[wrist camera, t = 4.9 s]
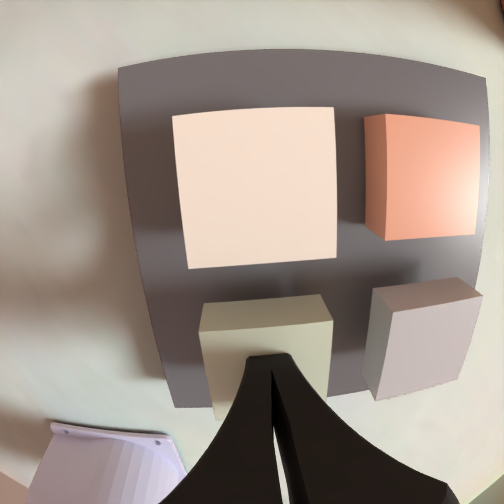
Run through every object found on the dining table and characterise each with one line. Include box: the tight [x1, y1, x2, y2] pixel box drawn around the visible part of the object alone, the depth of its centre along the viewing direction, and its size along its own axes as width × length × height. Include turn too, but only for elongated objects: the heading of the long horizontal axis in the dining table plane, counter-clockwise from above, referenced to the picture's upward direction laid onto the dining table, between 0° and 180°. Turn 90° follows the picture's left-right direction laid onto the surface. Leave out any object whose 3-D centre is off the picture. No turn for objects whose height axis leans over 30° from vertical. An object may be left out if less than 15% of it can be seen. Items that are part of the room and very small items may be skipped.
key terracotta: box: [364, 114, 480, 241], centre depth 10 cm, size 4×4×2 cm
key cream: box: [172, 107, 337, 269], centre depth 9 cm, size 4×4×2 cm
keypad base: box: [118, 49, 490, 408], centre depth 13 cm, size 15×15×2 cm
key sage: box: [198, 294, 333, 420], centre depth 11 cm, size 4×4×2 cm
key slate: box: [362, 277, 483, 401], centre depth 11 cm, size 4×4×2 cm
